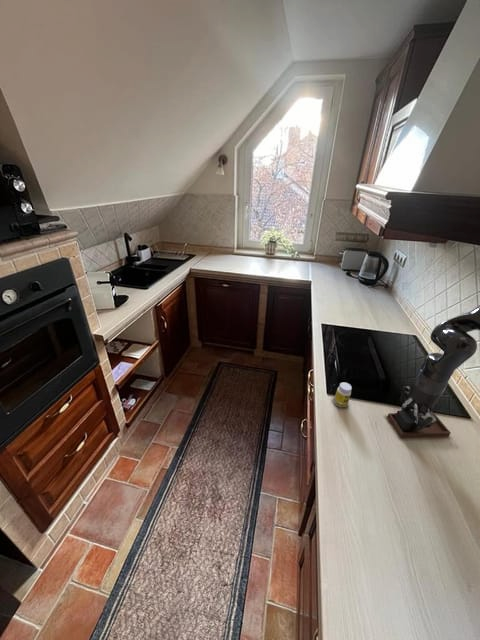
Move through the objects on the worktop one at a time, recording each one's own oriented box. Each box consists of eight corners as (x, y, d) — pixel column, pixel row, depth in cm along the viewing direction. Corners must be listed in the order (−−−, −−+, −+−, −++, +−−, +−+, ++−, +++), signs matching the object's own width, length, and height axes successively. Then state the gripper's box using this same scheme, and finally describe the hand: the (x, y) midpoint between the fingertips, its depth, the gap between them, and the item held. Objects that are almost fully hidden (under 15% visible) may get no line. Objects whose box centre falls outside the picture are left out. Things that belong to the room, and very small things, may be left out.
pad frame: (430, 416, 90) (433, 412, 89) (448, 436, 83) (451, 432, 82) (386, 417, 89) (388, 413, 88) (400, 438, 82) (402, 434, 81)
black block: (412, 416, 87) (416, 410, 85) (422, 429, 83) (426, 422, 81) (394, 417, 87) (397, 410, 85) (402, 430, 82) (406, 423, 81)
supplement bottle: (342, 409, 91) (348, 393, 87) (331, 401, 95) (336, 385, 90) (349, 403, 94) (355, 386, 90) (338, 395, 97) (343, 379, 93)
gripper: (459, 404, 70) (434, 442, 79) (424, 369, 82) (405, 405, 91) (433, 404, 70) (410, 442, 78) (402, 369, 82) (385, 405, 91)
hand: (408, 422), depth 85 cm, fingers closed on black block, 5 cm apart
